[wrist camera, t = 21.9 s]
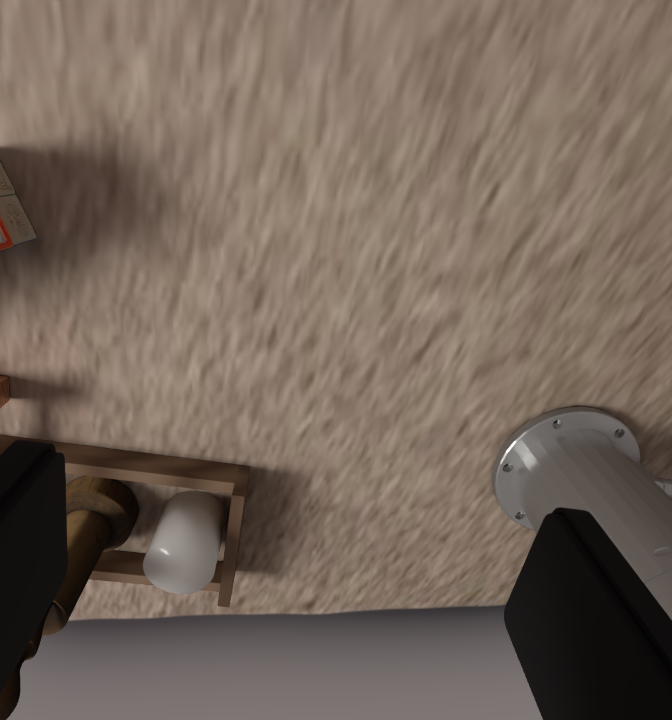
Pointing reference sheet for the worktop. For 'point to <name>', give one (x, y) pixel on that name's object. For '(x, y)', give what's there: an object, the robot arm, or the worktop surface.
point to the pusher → (4, 390)
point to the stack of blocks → (12, 216)
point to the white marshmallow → (186, 543)
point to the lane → (164, 473)
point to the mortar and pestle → (80, 557)
